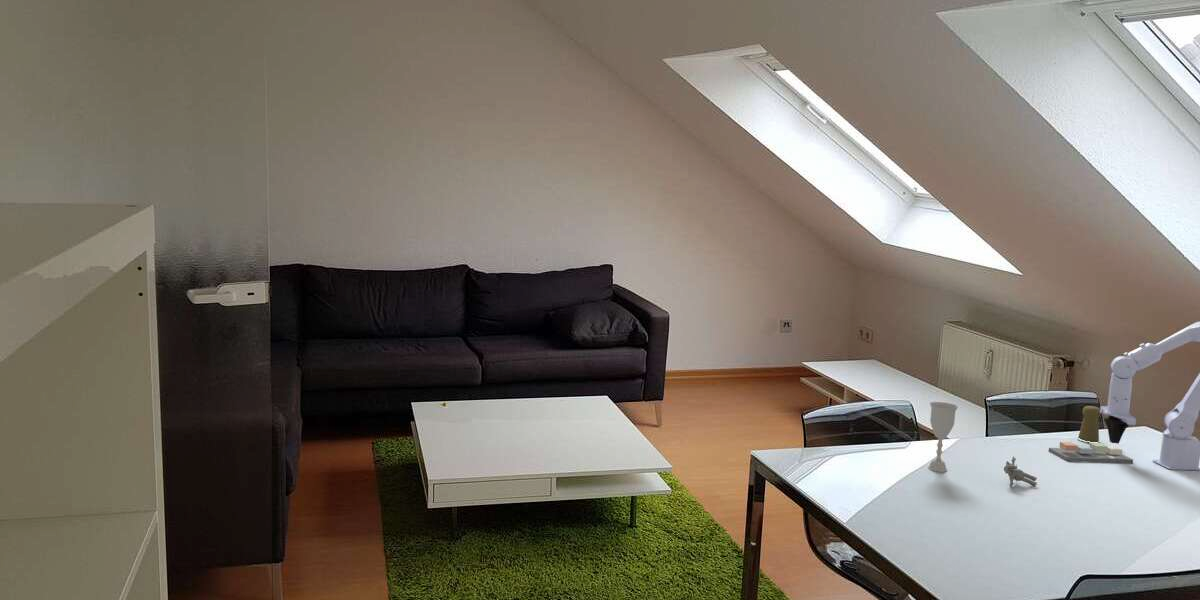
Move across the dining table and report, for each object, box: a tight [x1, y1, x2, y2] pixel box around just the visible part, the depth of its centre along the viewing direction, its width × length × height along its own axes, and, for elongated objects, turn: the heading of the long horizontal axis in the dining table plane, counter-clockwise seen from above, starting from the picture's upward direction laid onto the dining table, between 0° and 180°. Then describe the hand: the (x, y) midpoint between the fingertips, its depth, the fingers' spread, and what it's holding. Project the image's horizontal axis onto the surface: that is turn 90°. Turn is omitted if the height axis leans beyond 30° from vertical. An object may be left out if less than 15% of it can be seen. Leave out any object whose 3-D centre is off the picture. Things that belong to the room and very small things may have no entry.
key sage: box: [1088, 442, 1109, 452], centre depth 285 cm, size 3×3×2 cm
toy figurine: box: [1003, 456, 1038, 488], centre depth 255 cm, size 10×6×9 cm
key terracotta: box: [1058, 441, 1078, 451], centre depth 285 cm, size 3×3×2 cm
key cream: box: [1107, 445, 1123, 455], centre depth 286 cm, size 3×3×2 cm
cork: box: [1077, 405, 1102, 442], centre depth 303 cm, size 6×6×11 cm
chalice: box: [927, 401, 959, 473], centre depth 265 cm, size 7×7×18 cm
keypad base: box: [1048, 447, 1134, 464], centre depth 285 cm, size 20×10×1 cm, turn 94°
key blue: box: [1076, 444, 1092, 454], centre depth 285 cm, size 3×3×2 cm
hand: (1114, 442), depth 285 cm, fingers closed
